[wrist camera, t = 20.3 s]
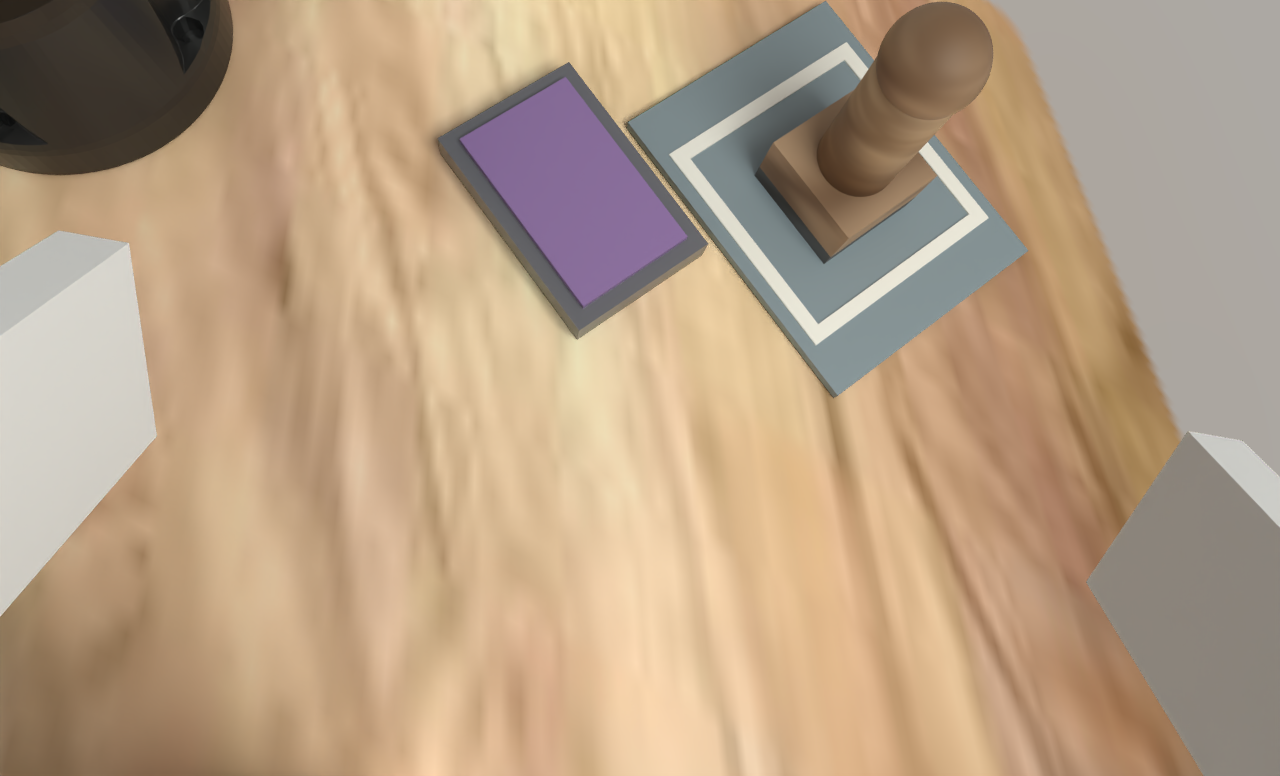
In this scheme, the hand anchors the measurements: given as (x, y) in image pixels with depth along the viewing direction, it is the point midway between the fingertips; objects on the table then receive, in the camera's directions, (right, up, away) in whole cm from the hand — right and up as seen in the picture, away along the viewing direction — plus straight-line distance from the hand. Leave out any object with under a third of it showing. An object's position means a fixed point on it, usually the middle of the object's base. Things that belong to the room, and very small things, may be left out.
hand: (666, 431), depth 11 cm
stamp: (+10, +11, +34) cm, 37 cm away
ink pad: (-4, +10, +32) cm, 34 cm away
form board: (+10, +11, +34) cm, 37 cm away
